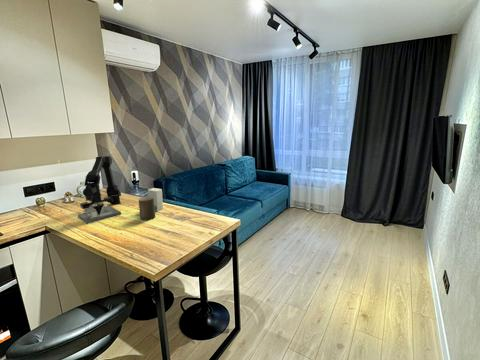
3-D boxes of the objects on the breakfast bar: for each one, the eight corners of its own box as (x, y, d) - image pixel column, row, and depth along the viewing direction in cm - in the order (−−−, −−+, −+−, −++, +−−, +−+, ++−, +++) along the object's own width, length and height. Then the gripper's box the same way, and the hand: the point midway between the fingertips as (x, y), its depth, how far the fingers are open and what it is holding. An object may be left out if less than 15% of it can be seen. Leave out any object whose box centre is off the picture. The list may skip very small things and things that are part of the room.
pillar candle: (155, 219, 173) (153, 197, 170) (139, 221, 170) (137, 199, 167) (155, 214, 182) (153, 193, 179) (140, 216, 179) (138, 195, 176)
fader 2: (106, 209, 187) (106, 204, 186) (108, 210, 185) (107, 205, 184) (103, 210, 185) (102, 205, 184) (105, 211, 183) (104, 206, 182)
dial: (93, 210, 185) (92, 203, 184) (95, 211, 183) (93, 204, 182) (84, 212, 181) (83, 205, 179) (85, 213, 179) (84, 206, 178)
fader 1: (95, 215, 175) (94, 210, 174) (97, 216, 173) (96, 211, 172) (91, 216, 173) (90, 211, 172) (93, 217, 171) (92, 212, 170)
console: (110, 208, 195) (110, 206, 194) (121, 214, 183) (120, 211, 182) (77, 217, 179) (77, 214, 179) (86, 223, 167) (86, 220, 167)
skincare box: (148, 210, 190) (146, 189, 186) (154, 207, 196) (152, 187, 192) (158, 211, 187) (156, 191, 183) (163, 208, 193) (162, 188, 189)
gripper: (105, 187, 183) (108, 208, 187) (75, 193, 170) (79, 215, 174) (111, 190, 176) (114, 211, 180) (81, 196, 163) (85, 219, 166)
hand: (98, 214), depth 175 cm, fingers closed
